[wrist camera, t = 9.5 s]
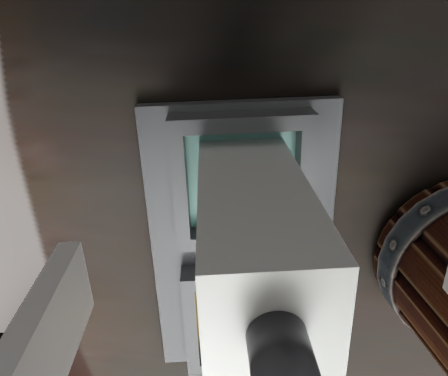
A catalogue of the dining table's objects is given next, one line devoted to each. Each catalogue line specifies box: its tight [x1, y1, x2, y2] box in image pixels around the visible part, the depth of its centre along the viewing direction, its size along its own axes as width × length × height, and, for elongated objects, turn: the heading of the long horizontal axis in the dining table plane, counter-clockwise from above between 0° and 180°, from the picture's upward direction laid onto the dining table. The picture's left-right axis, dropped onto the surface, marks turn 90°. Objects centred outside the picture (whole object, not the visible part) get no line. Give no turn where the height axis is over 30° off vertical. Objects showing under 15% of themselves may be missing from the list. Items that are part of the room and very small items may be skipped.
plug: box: [195, 138, 359, 376], centre depth 17 cm, size 5×4×14 cm
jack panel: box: [134, 95, 344, 376], centre depth 25 cm, size 18×11×2 cm, turn 2°
